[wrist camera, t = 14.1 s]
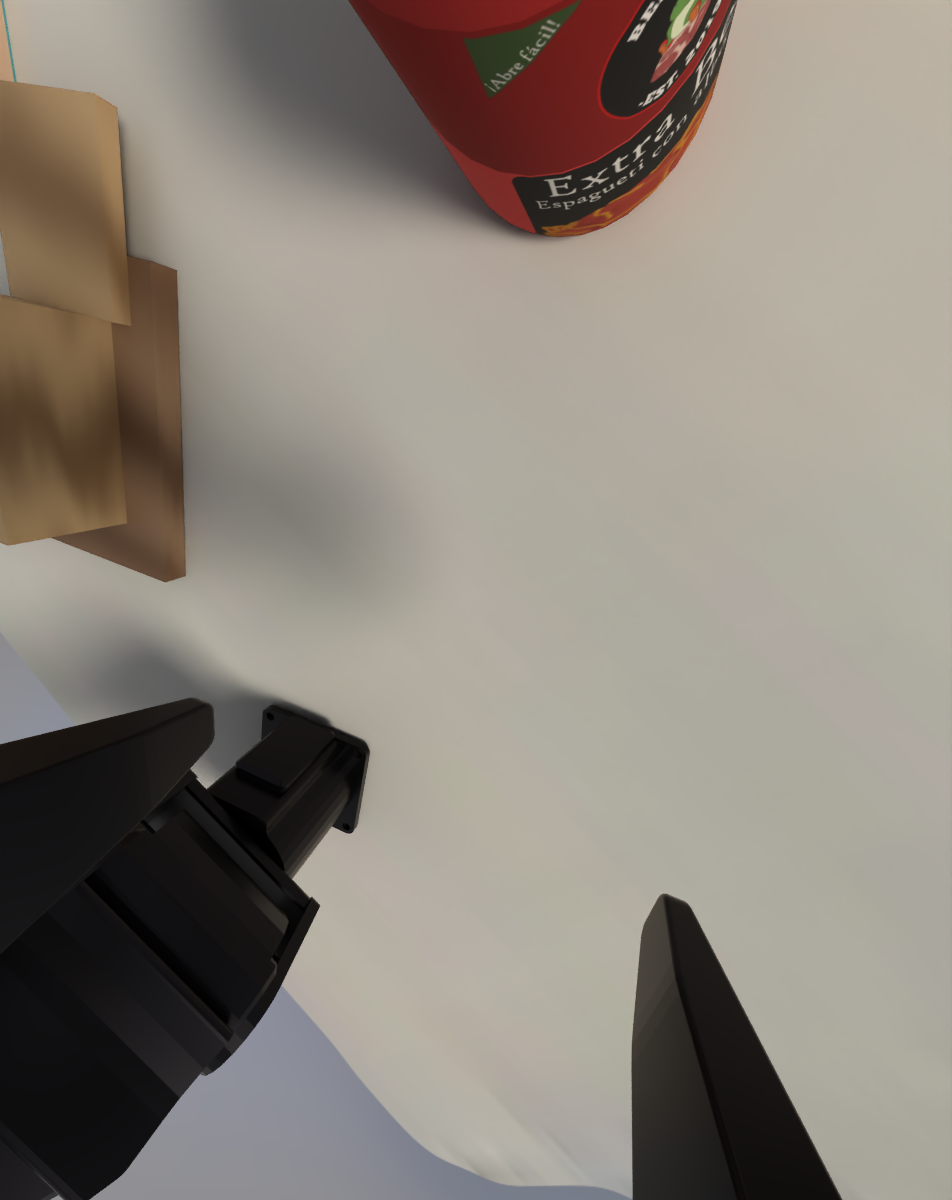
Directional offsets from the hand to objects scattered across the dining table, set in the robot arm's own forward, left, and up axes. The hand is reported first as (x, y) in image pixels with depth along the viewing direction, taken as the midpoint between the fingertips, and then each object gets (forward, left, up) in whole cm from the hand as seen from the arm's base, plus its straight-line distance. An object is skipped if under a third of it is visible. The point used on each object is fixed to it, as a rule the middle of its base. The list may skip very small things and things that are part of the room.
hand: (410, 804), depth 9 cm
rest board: (+2, +22, -12) cm, 25 cm away
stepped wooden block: (+5, +22, -11) cm, 25 cm away
